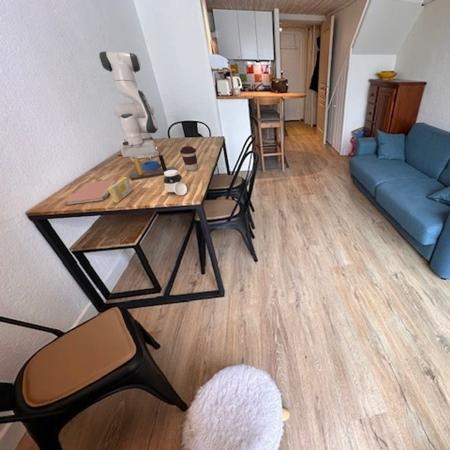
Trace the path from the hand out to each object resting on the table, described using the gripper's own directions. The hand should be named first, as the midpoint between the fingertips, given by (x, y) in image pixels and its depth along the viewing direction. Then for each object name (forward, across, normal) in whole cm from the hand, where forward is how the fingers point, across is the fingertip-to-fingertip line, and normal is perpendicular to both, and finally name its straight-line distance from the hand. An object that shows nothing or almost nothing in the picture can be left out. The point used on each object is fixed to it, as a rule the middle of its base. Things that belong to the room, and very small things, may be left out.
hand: (142, 161), depth 171 cm
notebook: (+6, +28, +30) cm, 42 cm away
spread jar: (+7, -12, +57) cm, 58 cm away
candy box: (+6, +14, +45) cm, 48 cm away
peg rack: (+6, -4, +15) cm, 17 cm away
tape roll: (+5, -4, -1) cm, 7 cm away
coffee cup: (+6, -28, +19) cm, 34 cm away
